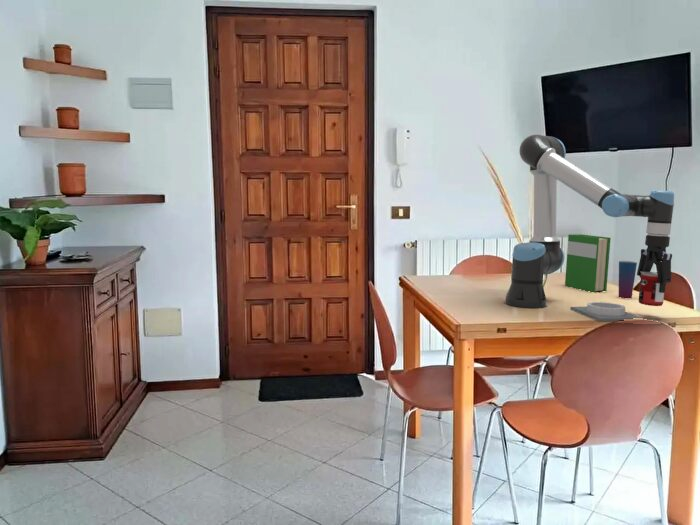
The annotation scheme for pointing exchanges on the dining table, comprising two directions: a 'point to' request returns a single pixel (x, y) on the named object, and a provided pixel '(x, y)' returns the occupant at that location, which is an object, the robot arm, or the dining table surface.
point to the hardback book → (587, 262)
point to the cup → (626, 278)
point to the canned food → (648, 289)
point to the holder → (604, 311)
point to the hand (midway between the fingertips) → (650, 298)
